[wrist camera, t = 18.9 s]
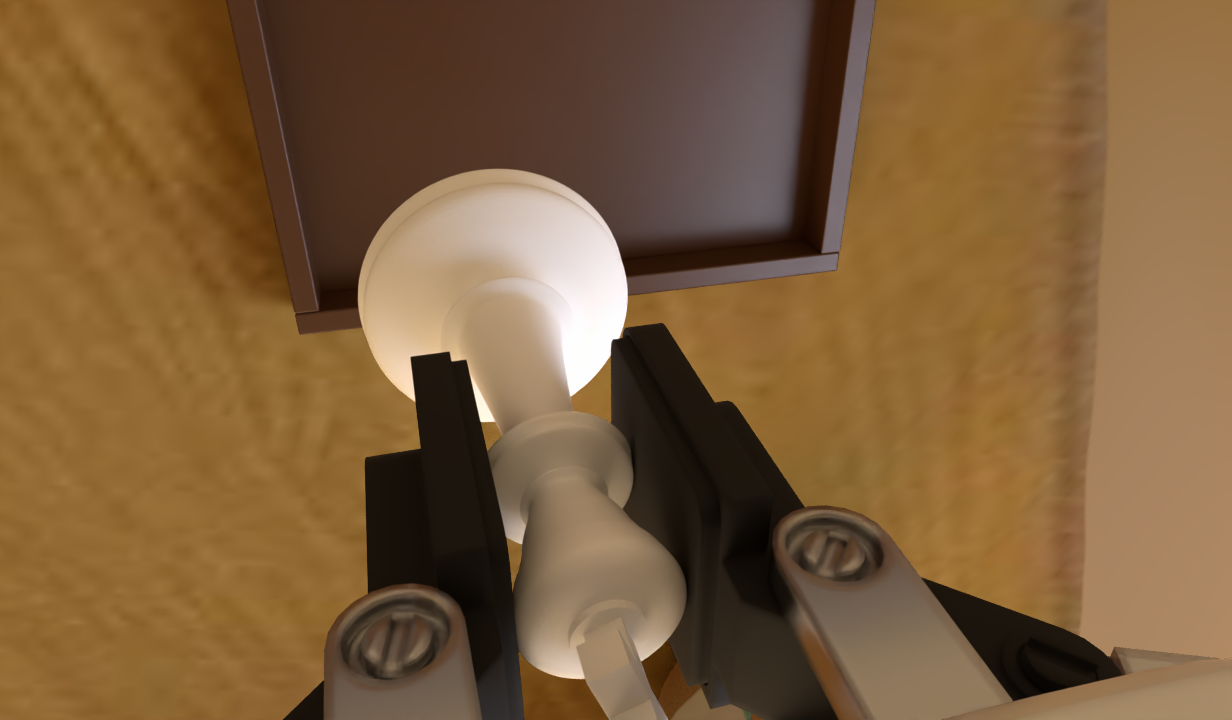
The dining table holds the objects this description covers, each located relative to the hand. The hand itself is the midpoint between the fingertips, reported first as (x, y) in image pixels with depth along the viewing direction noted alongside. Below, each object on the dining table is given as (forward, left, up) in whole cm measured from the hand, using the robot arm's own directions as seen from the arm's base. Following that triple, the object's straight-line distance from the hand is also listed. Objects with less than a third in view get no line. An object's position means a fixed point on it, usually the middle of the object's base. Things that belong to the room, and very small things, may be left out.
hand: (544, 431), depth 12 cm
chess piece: (0, 0, -5) cm, 5 cm away
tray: (0, +4, -19) cm, 19 cm away
